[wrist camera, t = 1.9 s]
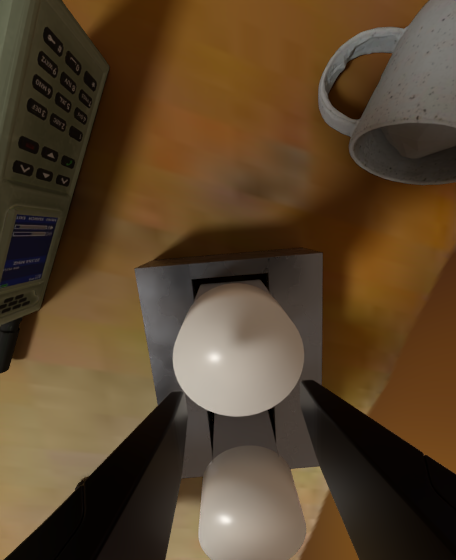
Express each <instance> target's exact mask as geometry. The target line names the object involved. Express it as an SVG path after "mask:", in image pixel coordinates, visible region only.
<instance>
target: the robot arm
mask: <svg viewBox="0 0 456 560" xmlns="http://www.w3.org/2000/svg"><path fill="white" fill-rule="evenodd" d="M300 406H301V410H302V413H303V416H304V420H305V423H306V426H307V429H308V432H309V435H310V439H311V442H312V445H313V448H314V451H315V454H316V457H317V460H318V463H319V465H320V468H321V470H322V473H323V475H324V477H325V480H326V482H327V484H328V487H329V489H330V491H331V494H332V496H333V499H334V501H335V503H336V506H337V508H338V510H339V512H340V515H341V517H342V520H343V522H344V524H345V527H346V529H347V531H348V534H349V536H350V539H351V541H352V543H353V546H354V548H355V550H356V553H357V555H358V558H359V560H456V474H455V473H453V472H451V471H450V470H448V469H447V468H445V467H444V466H442V465H441V464H439V463H438V462H436V461H435V460H433V459H432V458H430V457H429V456H427V455H425V456H424V454H423V453H422V452H421V451H419V450H418V449H416V448H415V447H413V446H412V445H410V444H409V443H407V442H406V441H404V440H403V439H401V438H400V437H398V436H397V435H395V434H394V433H392V432H391V431H389V430H388V429H386V428H385V427H383V426H382V425H380V424H379V423H377V422H376V421H374V420H373V419H371V418H370V417H368V416H367V415H365V414H364V413H362V412H361V411H359V410H358V409H356V408H355V407H353V406H352V405H350V404H349V403H347V402H346V401H344V400H343V399H341V398H340V397H338V396H337V395H335V394H334V393H332V392H331V391H329V390H328V389H326V388H325V387H323V386H322V385H320V384H319V383H317V382H316V381H314V380H302V381H301V382H300ZM187 420H188V412H187V404H186V397H185V392H184V391H173V392H171V393H170V394H169V395H168V396H167V397H166V398H165V399H164V400H163V401H162V402H161V403H160V404H159V405H158V406H157V407H156V408H155V409H154V410H153V411H152V412H151V413H150V414H149V415H148V416H147V417H146V418H145V419H144V420H143V421H142V423H141V424H140V425H139V426H138V427H137V428H136V429H135V430H134V431H133V432H132V433H131V434H130V435H129V436H128V437H127V438H126V439H125V440H124V441H123V442H122V443H121V444H120V445H119V446H118V447H117V448H116V449H115V450H114V451H113V452H112V453H111V454H110V455H109V456H108V457H107V459H106V460H105V461H104V462H103V463H102V464H101V465H100V466H99V467H98V468H97V469H96V470H95V471H94V472H93V473H92V474H91V475H90V476H89V477H88V478H87V479H86V480H85V481H84V482H79V483H78V485H77V487H76V488H75V491H74V492H73V493H72V494H71V495H70V496H69V497H68V498H67V499H66V500H65V501H64V502H63V503H62V504H61V505H60V506H59V507H58V508H57V509H56V510H55V511H54V512H53V513H52V514H51V515H50V516H49V517H48V518H47V519H46V520H45V521H44V522H43V523H42V524H41V525H40V526H39V527H38V528H37V529H36V530H35V531H34V532H33V533H32V534H31V535H30V536H29V537H28V538H26V539H25V540H24V541H23V542H22V543H21V544H20V545H19V546H18V547H17V548H16V549H15V550H14V551H13V552H12V553H10V554H9V555H8V556H7V557H6V558H5V559H4V560H165V558H166V553H167V548H168V543H169V538H170V533H171V528H172V523H173V518H174V513H175V508H176V502H177V497H178V492H179V487H180V482H181V477H182V471H183V462H184V452H185V441H186V431H187Z"/></svg>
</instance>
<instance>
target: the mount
mask: <svg viewBox="0 0 456 560" xmlns="http://www.w3.org/2000/svg"><path fill="white" fill-rule="evenodd" d="M260 273H266V285H267V289H268V291H269V292H270V294H271V295H272V296H273V298H274V299H275V300H276V301H277V302H278V303H279V305H280V306H281V307H282V309H283V310H284V311H285V313H286V314H287V315H288V317H289V318H290V319H291V321H292V322H293V323H294V325H295V326H296V328H297V330H298V331H299V334H300V336H301V339H302V342H303V347H304V364H303V369H302V373H301V375H300V378H299V380H298V382H297V384H296V385H295V387H294V388H293V390H292V391H291V392H290V393H289V394H288V396H287V397H286V398H284V399H283V400H282V401H281V402H280V403H278V404H277V405H275V406H274V407H272V412H273V419H270V422H271V426H272V430H273V434H274V438H275V442H276V446H277V450H278V454H279V455H280V456H281V457H282V458H283V459H284V460H285V461H286V462H287V464H288V465H289V467H290V469H294V468H305V467H317V466H320V465H319V463H318V460H317V457H316V454H315V451H314V448H313V445H312V442H311V439H310V435H309V432H308V429H307V426H306V423H305V420H304V416H303V413H302V410H301V406H300V382H301V381H302V380H314V381H316V382H317V383H319V384H320V385H322V280H323V253H322V252H318V251H314V250H309V249H305V248H292V249H280V250H268V251H256V252H244V253H232V254H220V255H208V256H197V257H185V258H173V259H161V260H152V261H150V262H148V263H146V264H143V265H141V266H139V267H137V268H135V274H136V280H137V286H138V292H139V298H140V303H141V309H142V315H143V321H144V327H145V333H146V338H147V344H148V350H149V356H150V362H151V368H152V373H153V379H154V385H155V391H156V397H157V403H158V405H159V404H160V403H161V402H162V401H163V400H164V399H165V398H166V397H167V396H168V395H169V394H170V393H171V392H173V391H183V389H182V388H181V386H180V384H179V383H178V381H177V378H176V375H175V372H174V368H173V349H174V345H175V341H176V339H177V336H178V334H179V331H180V329H181V326H182V324H183V322H184V319H185V317H186V314H187V312H188V311H189V309H190V307H191V306H192V304H193V302H194V300H195V297H196V295H195V287H194V279H201V278H213V277H225V276H236V275H248V274H260ZM185 397H186V404H187V412H188V420H187V431H186V441H185V452H184V462H183V471H182V477H181V478H191V477H203V476H204V472H205V470H206V468H207V466H208V465H209V463H210V462H211V461H212V460H213V437H214V424H210V415H209V411H208V410H206V409H204V408H202V407H201V406H199V405H198V404H196V403H195V402H194V401H192V400H191V399H190V398H189V397H188V396H187V395H186V393H185Z"/></svg>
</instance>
